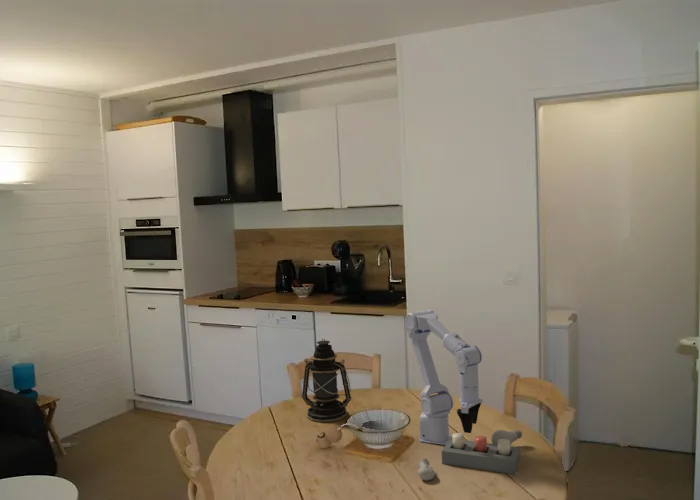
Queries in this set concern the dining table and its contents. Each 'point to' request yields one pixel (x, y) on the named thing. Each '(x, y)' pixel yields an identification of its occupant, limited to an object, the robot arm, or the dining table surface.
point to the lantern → (325, 385)
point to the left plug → (458, 440)
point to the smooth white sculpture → (425, 470)
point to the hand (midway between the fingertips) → (470, 427)
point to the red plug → (480, 444)
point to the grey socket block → (481, 457)
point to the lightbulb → (506, 436)
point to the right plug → (504, 447)
